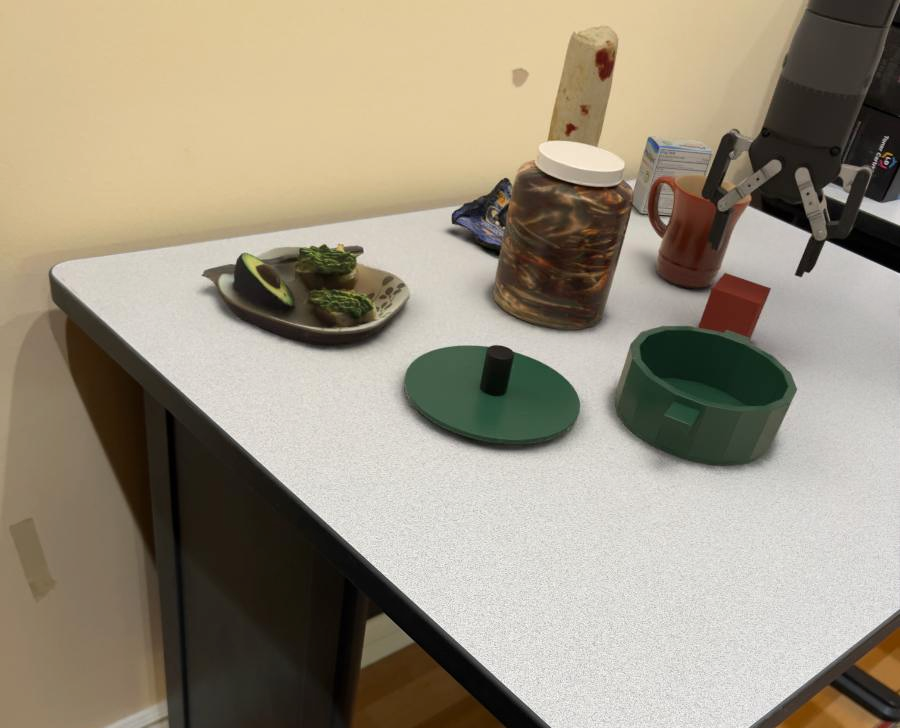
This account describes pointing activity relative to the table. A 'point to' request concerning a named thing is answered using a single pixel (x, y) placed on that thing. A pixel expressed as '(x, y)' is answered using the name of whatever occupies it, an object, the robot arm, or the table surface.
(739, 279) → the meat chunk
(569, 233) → the jar
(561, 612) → the table surface
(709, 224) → the mug
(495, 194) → the snack package
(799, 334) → the table surface
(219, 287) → the plate of avocado toast
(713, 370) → the pot
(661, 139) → the medicine box
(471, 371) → the pot lid
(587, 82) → the food model
